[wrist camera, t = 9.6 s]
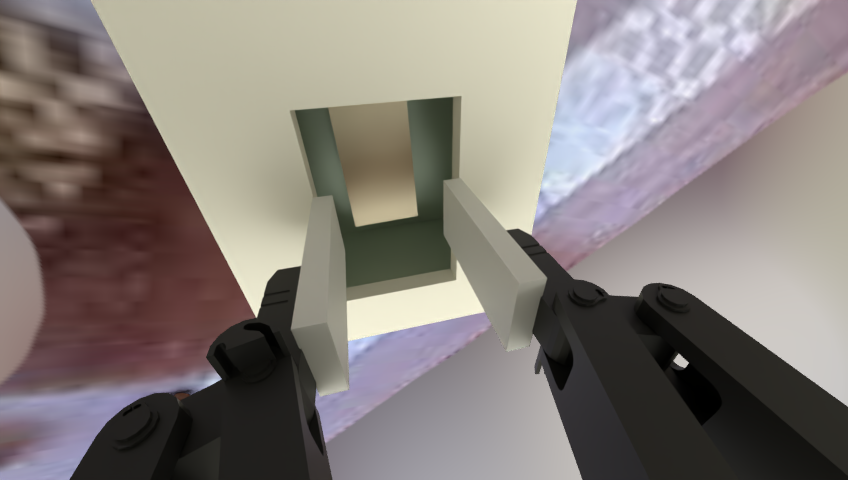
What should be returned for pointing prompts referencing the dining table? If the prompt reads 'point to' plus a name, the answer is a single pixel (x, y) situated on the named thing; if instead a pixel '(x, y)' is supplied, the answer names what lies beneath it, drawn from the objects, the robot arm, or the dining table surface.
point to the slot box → (314, 138)
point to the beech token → (376, 160)
